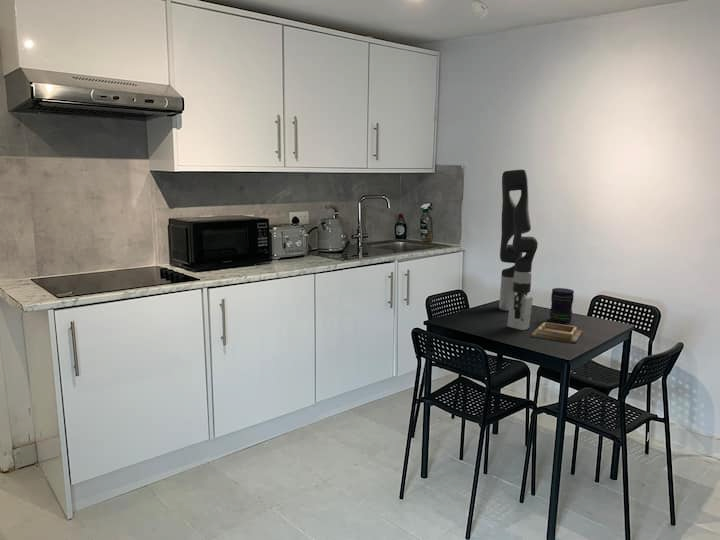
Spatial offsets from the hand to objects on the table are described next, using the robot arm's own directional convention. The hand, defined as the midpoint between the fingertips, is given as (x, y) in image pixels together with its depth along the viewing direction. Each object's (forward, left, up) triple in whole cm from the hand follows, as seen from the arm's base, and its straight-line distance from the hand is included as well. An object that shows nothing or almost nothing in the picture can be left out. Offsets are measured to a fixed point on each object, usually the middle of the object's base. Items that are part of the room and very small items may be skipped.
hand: (519, 316), depth 249 cm
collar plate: (+2, +17, -5) cm, 18 cm away
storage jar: (-23, +14, -5) cm, 27 cm away
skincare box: (0, 0, -5) cm, 5 cm away
